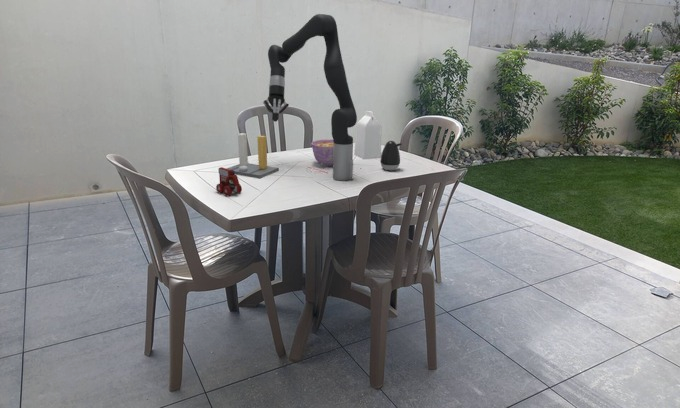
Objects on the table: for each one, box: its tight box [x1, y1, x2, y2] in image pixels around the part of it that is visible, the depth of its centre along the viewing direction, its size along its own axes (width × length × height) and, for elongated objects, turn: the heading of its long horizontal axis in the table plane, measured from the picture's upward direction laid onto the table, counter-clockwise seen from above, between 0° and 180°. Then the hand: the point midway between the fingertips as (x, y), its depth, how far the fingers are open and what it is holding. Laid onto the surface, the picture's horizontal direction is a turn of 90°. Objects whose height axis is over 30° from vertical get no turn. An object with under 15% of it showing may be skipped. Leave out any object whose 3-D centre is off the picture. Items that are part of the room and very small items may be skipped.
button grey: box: [239, 166, 248, 172], centre depth 214 cm, size 4×4×2 cm
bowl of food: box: [311, 139, 333, 167], centre depth 234 cm, size 20×20×12 cm
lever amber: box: [256, 135, 268, 169], centre depth 216 cm, size 3×3×16 cm
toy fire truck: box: [215, 166, 243, 197], centre depth 185 cm, size 7×12×10 cm, turn 50°
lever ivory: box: [237, 132, 249, 166], centre depth 221 cm, size 3×3×16 cm
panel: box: [226, 162, 280, 179], centre depth 218 cm, size 22×16×2 cm
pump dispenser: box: [380, 140, 402, 171], centre depth 225 cm, size 10×10×15 cm
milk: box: [353, 110, 382, 160], centre depth 251 cm, size 12×12×26 cm
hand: (275, 121), depth 215 cm, fingers closed
